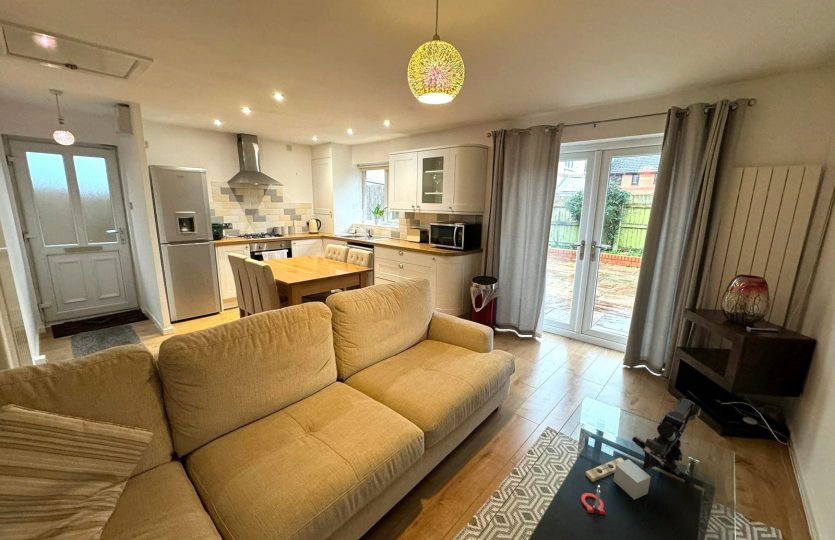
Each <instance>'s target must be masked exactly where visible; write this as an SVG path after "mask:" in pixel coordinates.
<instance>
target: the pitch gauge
mask: <svg viewBox="0 0 835 540" xmlns="http://www.w3.org/2000/svg"><path fill="white" fill-rule="evenodd" d="M623 461H626V459H625V460H624V459H623V458H622V457H618V458H616V459H613V460H611V461H608V462H605V463H603V464H601V465H598V466H596V467H594V468H592V469H589V470H586V471H585V475H586V476H587V478H588V479H590V481H591V482H596V481H597V480H601V479H602V478H605V477H608V476H610V475H612V474H614V473H615V467H616V464H618V463H621V462H623Z"/></svg>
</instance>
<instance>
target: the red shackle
mask: <svg viewBox="0 0 835 540" xmlns="http://www.w3.org/2000/svg"><path fill="white" fill-rule="evenodd" d="M600 494H601V486H600V485H597V489H596V494H593V493H591V492H590V493H589V492H584V493H583V494H581V498H580V501H581V503H582V505H583V506H584V507H585V508H586V511H587V513H589V514H594V515H595V514H596V515H604V516H605V515H606V511H605V510H604V506H605V504H604V502H603V500H602V499H601V498H600V496H601V495H600ZM586 498H592V499H594V505H592V506H591V505H590V504H589V503H588V502H587V501H586Z"/></svg>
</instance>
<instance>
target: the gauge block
mask: <svg viewBox="0 0 835 540" xmlns="http://www.w3.org/2000/svg"><path fill="white" fill-rule="evenodd" d="M613 474H614V475H613V479H612V480H613V482H614V483H615V484H616V485H617V486H619V487H620V488H621V489H622V490H623V491H624V492H626V494H627V495H629V496H630V497H631V498H632V499H633V500H634V501H635V500H636V499H639V498H641V497H643V496H645V495H647V494H649V489H650V484H651V478H652V477H651V475H649V474H648V473H647V472H645V470H644V469H643V468H640V467H639V466H638V465H637V464H636V463H634V462H633V461H632V460H630V459H628V458H627V459H625V461H623V462H621V463H618V464H616V467H615V472H614V473H613Z"/></svg>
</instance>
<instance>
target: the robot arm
mask: <svg viewBox="0 0 835 540" xmlns="http://www.w3.org/2000/svg"><path fill="white" fill-rule="evenodd" d="M674 409H675V410H673V411H668V412H667V413H666V414H664V415H663V417H662V418H661V420H660V421H659V425H657V427H656V431H657V433H658V434H659V435H658V436H657V437H654V438H653V439H652V438H646V439H645V441H644V440H643V439H641V438H640V437H638V436H633V437H632V439H631V441H632V442H633V443H634V444H635V445H637V446H638V447H639V448H640V449H642V451H643V452H644V461H643V466H642V470H643V471H644V472H645V471H649V470H650V469H652V468H655V467H659V466H662V468H663V469H665V470H666V471H668V472H673V473H675V474H677V475H678V476H679V474H681V472H682V471H681V470H682V469H681V467H680V466H678V464H677V462H680V461H681V462H682V461H683V457H684V456H683V453H684V452H683V450H682V448H681V447H682V444H681V440H682V438H683V436H684V434H685V432H686V429H687V428H688V426H689V423H690V422H691V421H695V420H696V419H697V417H699V416H700V414H701V411H702V409H701V407H700V406H699V405H697V404H696V403H695V402H694V401H693V400H690V399H687V398H683V397H681V398H679V399H678V402H677V405H676V407H675V408H674Z"/></svg>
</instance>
